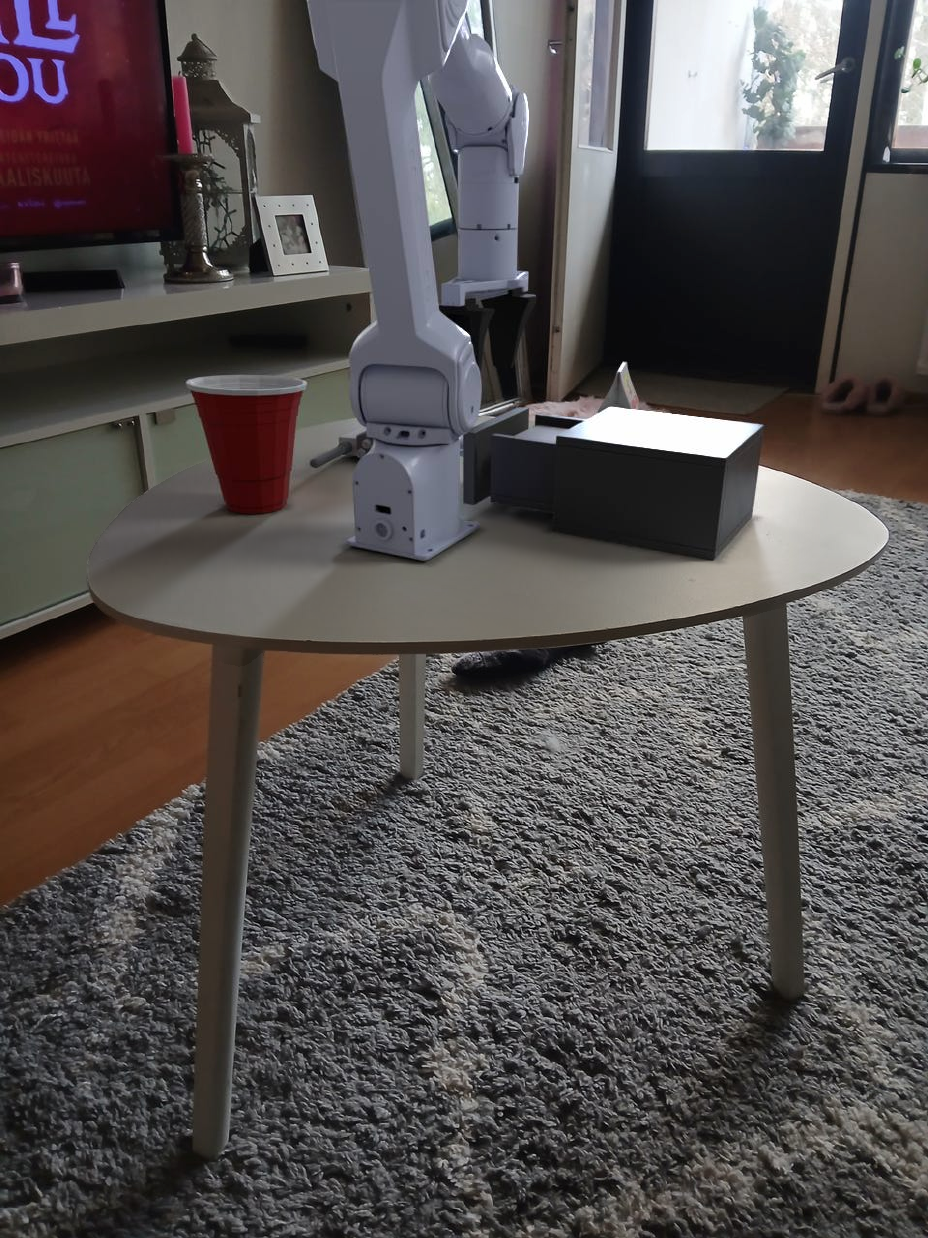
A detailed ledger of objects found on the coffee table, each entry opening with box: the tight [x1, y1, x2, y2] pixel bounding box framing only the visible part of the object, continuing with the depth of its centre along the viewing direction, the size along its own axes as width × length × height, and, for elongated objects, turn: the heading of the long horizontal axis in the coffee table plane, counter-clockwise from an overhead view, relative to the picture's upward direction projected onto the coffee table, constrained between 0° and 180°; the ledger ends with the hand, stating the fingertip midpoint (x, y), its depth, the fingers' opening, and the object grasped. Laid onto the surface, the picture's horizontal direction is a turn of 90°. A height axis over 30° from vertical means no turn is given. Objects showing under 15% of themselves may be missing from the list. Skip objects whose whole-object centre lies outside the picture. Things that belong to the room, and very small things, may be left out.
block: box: [515, 425, 568, 442], centre depth 90 cm, size 5×5×5 cm
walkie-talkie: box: [309, 427, 374, 469], centre depth 107 cm, size 9×4×20 cm
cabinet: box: [551, 407, 765, 561], centre depth 86 cm, size 15×13×9 cm
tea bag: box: [597, 361, 639, 414], centre depth 105 cm, size 4×7×10 cm, turn 166°
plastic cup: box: [185, 374, 308, 515], centre depth 90 cm, size 11×11×12 cm
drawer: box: [460, 406, 588, 514], centre depth 91 cm, size 18×11×7 cm, turn 61°
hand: (486, 372), depth 98 cm, fingers open, 7 cm apart
